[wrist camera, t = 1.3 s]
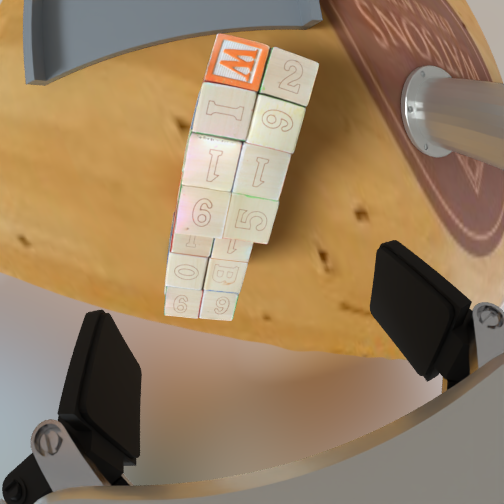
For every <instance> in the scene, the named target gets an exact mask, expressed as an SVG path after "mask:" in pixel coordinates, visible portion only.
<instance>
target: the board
mask: <svg viewBox="0 0 504 504" xmlns="http://www.w3.org/2000/svg"><path fill="white" fill-rule="evenodd" d="M322 20H323V19H322V14H321V9H320V4H319V0H24V13H23V50H24V67H25V78H26V84H31V85H44V86H45V85H47V84H49V83H51V82H53V81H55V80H57V79H60V78H62V77H64V76H66V75H69V74H71V73H73V72H76V71H78V70H80V69H83V68H85V67H88V66H91V65H93V64H96V63H99V62H101V61H104V60H107V59H110V58H113V57H116V56H119V55H122V54H125V53H129V52H132V51H136V50H139V49H143V48H147V47H150V46H154V45H158V44H163V43H167V42H172V41H177V40H182V39H187V38H193V37H199V36H205V35H212V34H218V33H228V32H239V31H252V30H274V29H301V30H307V29H308V28H310V27H312V26H313V25H315V24H317V23H319V22H321V21H322Z"/></svg>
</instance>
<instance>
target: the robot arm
mask: <svg viewBox="0 0 504 504" xmlns="http://www.w3.org/2000/svg"><path fill="white" fill-rule="evenodd" d="M401 113H402V119H403V123H404V127H405V130H406V132H407V134H408V137H409V138H410V140H411V142H412V143H413V145H414V146H415V147H416V148H417V149H418V150H419V151H421V152H422V153H424V154H426V155H429V156H432V157H443V156H446V155H448V154H449V153H451V152H452V151H453V152H456V153H459V154H462V155H465V156H468V157H470V158H473V159H476V160H479V161H481V162H484V163H486V164H489V165H491V166H494V167H496V168H499V169H501V170H504V84H501V83H495V82H488V81H480V80H470V79H459V78H452V77H451V76H450V75H449V74H448V73H447V72H446V71H444V70H443V69H441V68H439V67H436V66H421V67H418V68H416V69H415V70H414V71H412V72H411V74H410V75H409V76H408V77H407V80H406V82H405V84H404V87H403V91H402V97H401ZM470 305H471V301H470V300H469V299H468V298H467V297H466V296H465V295H464V294H462V293H461V292H460V291H459V290H458V289H457V288H456V287H454V286H453V285H452V284H451V283H450V282H448V281H447V280H446V279H445V278H444V277H443V276H441V275H440V274H439V273H438V272H437V271H435V270H434V269H433V268H432V267H430V266H429V265H428V264H427V263H425V262H424V261H423V260H422V259H420V258H419V257H418V256H417V255H415V254H414V253H413V252H411V251H410V250H409V249H407V248H406V247H405V246H404V245H402V244H401V243H400V242H398V241H396V240H393V241H389V242H386V243H382V244H381V245H380V248H379V249H378V250H377V253H376V263H375V272H374V280H373V288H372V295H371V302H370V311H371V314H372V315H373V317H374V318H375V319H376V320H377V322H378V323H379V324H380V325H381V327H382V328H383V329H384V330H385V332H386V333H387V334H388V335H389V337H390V338H391V339H392V341H393V342H394V343H395V344H396V346H397V347H398V348H399V350H400V351H401V352H402V353H403V355H404V356H405V357H406V359H407V360H408V361H409V362H410V364H411V365H412V366H413V368H414V369H415V370H416V372H417V373H418V374H419V375H420V376H424V378H425V379H426V380H427V381H429V380H431V379H433V378H435V377H436V376H437V375H438V374H439V373H440V374H441V375H442V376H443V380H442V394H441V395H439V396H438V397H436V398H434V399H433V400H431V401H429V402H428V403H426V404H424V405H423V406H421V407H419V408H418V409H416V410H414V411H413V412H411V413H409V414H407V415H405V416H403V417H401V418H400V419H398V420H396V421H394V422H392V423H390V424H388V425H386V426H384V427H382V428H380V429H378V430H375V431H373V432H371V433H369V434H367V435H365V436H362V437H360V438H357V439H355V440H353V441H350V442H348V443H345V444H343V445H341V446H338V447H335V448H333V449H330V450H327V451H325V452H322V453H319V454H316V455H313V456H310V457H307V458H304V459H301V460H298V461H294V462H291V463H287V464H283V465H280V466H277V467H273V468H268V469H264V470H260V471H256V472H251V473H247V474H242V475H236V476H231V477H225V478H219V479H213V480H206V481H198V482H188V483H178V484H165V485H144V486H134V485H133V484H132V482H131V481H130V480H129V479H128V478H127V477H126V476H125V475H124V474H123V473H124V472H123V466H133V465H134V466H135V465H136V458H138V457H139V456H140V396H141V395H140V394H141V376H142V374H141V368H140V366H139V364H138V362H137V361H136V359H135V357H134V356H133V354H132V352H131V351H130V349H129V347H128V346H127V344H126V342H125V340H124V339H123V337H122V335H121V333H120V332H119V330H118V328H117V326H116V324H115V322H114V320H113V319H112V317H111V315H110V314H109V313H105V312H104V311H103V310H97V311H93V312H88V313H86V315H85V318H84V321H83V324H82V327H81V330H80V333H79V336H78V339H77V342H76V345H75V348H74V352H73V355H72V358H71V362H70V365H69V369H68V372H67V376H66V380H65V384H64V388H63V392H62V396H61V401H60V405H59V410H58V415H59V417H58V421H57V420H52V419H49V420H45V421H43V422H41V423H40V424H39V425H38V426H37V427H36V428H35V430H34V431H33V433H32V436H31V448H32V452H33V453H32V454H31V455H29V456H28V457H27V458H26V459H25V460H24V461H23V462H22V463H21V464H19V465H18V466H17V467H16V468H15V469H14V470H13V471H12V472H11V473H9V474H8V476H7V477H6V478H5V480H4V482H3V487H2V491H3V497H4V499H5V501H4V500H2V499H1V500H0V504H504V312H503V311H502V310H501V309H500V308H499V307H498V306H496V305H494V304H492V303H488V302H482V303H479V304H477V305H476V306H474V308H473V311H472V310H471V309H469V308H470Z"/></svg>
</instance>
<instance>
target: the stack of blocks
mask: <svg viewBox="0 0 504 504" xmlns="http://www.w3.org/2000/svg"><path fill="white" fill-rule="evenodd" d="M318 69H319V63H318V62H315V61H313V60H310V59H307V58H305V57H302V56H299V55H297V54H294V53H291V52H288V51H285V50H283V49H280V48H277V47H273V48H270V46H268V45H265V44H263V43H259V42H255V41H252V40H248V39H244V38H240V37H235V36H231V35H226V34H220V33H218V34H217V37H216V40H215V43H214V47H213V49H212V52H211V56H210V59H209V62H208V65H207V68H206V72H205V75H204V79H203V82H202V86H201V89H200V92H199V94H198V98H197V102H196V106H195V110H194V114H193V118H192V123H191V127H190V131H189V135H188V139H187V144H186V148H185V153H184V162H183V167H182V174H181V179H180V184H179V192H178V198H177V204H176V210H175V212H174V214H173V220H172V226H171V232H170V239H169V250H168V258H167V269H166V277H165V289H164V294H165V307H164V315H168V316H178V317H187V318H204V319H215V320H229V321H232V319H233V316H234V312H235V308H236V304H237V301H238V295H239V293H240V291H241V288H242V284H243V280H244V276H245V272H246V269H247V265H248V261H249V259H250V255H251V251H252V247H253V243H260V244H268V242H269V238H270V235H271V231H272V228H273V223H274V220H275V217H276V213H277V210H278V206H279V198H280V195H281V192H282V188H283V185H284V181H285V177H286V173H287V170H288V167H289V163H290V159H291V155H292V154H293V153H294V150H295V147H296V144H297V140H298V137H299V133H300V129H301V126H302V122H303V119H304V115H305V111H306V108H305V107H306V106H307V105H308V104H309V100H310V96H311V93H312V90H313V86H314V83H315V79H316V76H317V72H318Z"/></svg>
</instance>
